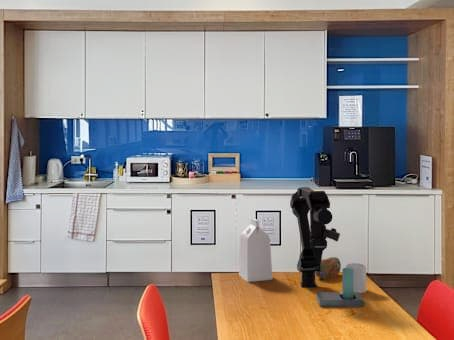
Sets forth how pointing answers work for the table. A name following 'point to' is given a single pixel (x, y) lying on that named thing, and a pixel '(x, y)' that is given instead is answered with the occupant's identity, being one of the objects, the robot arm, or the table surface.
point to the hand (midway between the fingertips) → (318, 262)
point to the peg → (348, 283)
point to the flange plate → (339, 300)
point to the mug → (358, 277)
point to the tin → (329, 268)
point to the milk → (255, 254)
